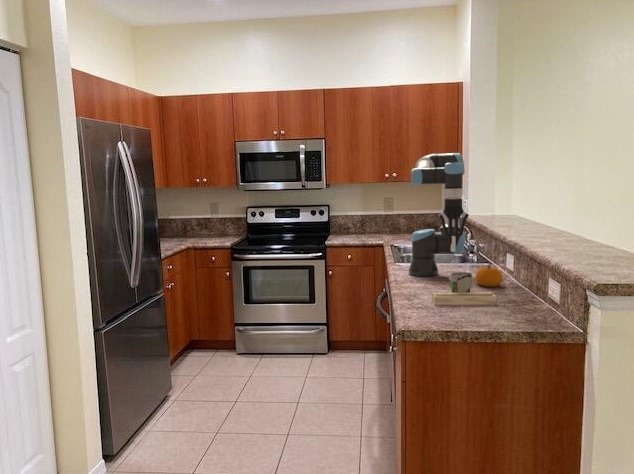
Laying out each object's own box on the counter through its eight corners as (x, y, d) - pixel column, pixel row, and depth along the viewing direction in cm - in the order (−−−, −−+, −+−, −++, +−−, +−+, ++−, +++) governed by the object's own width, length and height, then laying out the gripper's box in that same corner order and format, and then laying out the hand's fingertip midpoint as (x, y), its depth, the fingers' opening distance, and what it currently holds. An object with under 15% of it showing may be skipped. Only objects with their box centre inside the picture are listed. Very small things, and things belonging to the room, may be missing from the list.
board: (431, 301, 198) (431, 291, 197) (491, 300, 196) (491, 291, 195) (434, 304, 192) (434, 295, 191) (495, 304, 190) (495, 294, 189)
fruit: (504, 284, 224) (505, 263, 222) (498, 289, 214) (499, 267, 213) (479, 281, 230) (479, 261, 229) (472, 286, 220) (472, 265, 219)
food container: (458, 293, 209) (459, 270, 208) (471, 295, 205) (472, 272, 204) (443, 298, 201) (443, 275, 200) (456, 301, 197) (456, 277, 195)
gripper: (439, 199, 206) (439, 253, 210) (470, 198, 205) (470, 252, 209) (436, 198, 214) (436, 250, 217) (466, 197, 213) (466, 249, 216)
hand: (453, 251), depth 213 cm, fingers closed
